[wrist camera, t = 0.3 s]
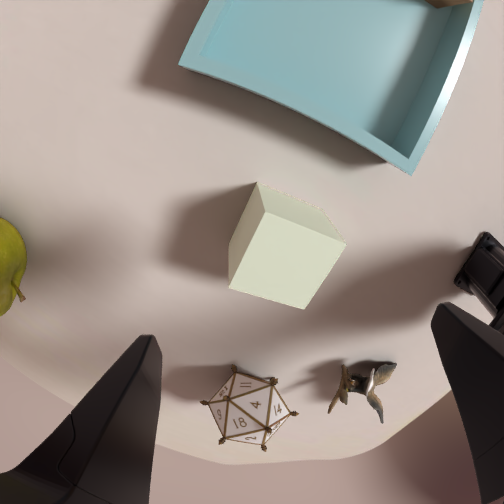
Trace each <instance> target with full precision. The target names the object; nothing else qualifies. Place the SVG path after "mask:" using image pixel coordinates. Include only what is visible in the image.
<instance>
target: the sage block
mask: <svg viewBox="0 0 504 504" xmlns="http://www.w3.org/2000/svg"><path fill="white" fill-rule="evenodd" d="M346 245H347V244H346V242H345V241H344V239H343V238H342V236H341V235H340V233H339V232H338V230H337V229H336V228H335V226H334V225H333V223H332V222H331V220H330V219H329V218H328V216H327V215H326V213H325V212H324V211H323V209H321V208H318V207H316V206H314V205H311V204H309V203H307V202H305V201H302V200H300V199H297V198H295V197H293V196H290V195H288V194H286V193H283V192H281V191H278V190H276V189H273V188H271V187H268V186H266V185H263V184H261V183H258V182H257V183H256V185H255V187H254V190H253V192H252V194H251V196H250V198H249V200H248V203H247V205H246V207H245V209H244V211H243V214H242V216H241V218H240V220H239V222H238V225H237V227H236V229H235V231H234V234H233V236H232V238H231V240H230V242H229V245H228V288H231V289H234V290H237V291H241V292H244V293H247V294H251V295H254V296H258V297H261V298H264V299H268V300H271V301H275V302H278V303H282V304H286V305H289V306H293V307H296V308H300V309H305V308H306V306H307V305H308V303H309V302H310V300H311V299H312V297H313V296H314V294H315V293H316V291H317V290H318V288H319V287H320V285H321V284H322V282H323V281H324V279H325V278H326V276H327V275H328V273H329V272H330V270H331V269H332V267H333V266H334V264H335V262H336V261H337V259H338V258H339V256H340V255H341V253H342V251H343V250H344V248H345V247H346Z"/></svg>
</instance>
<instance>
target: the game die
mask: <svg viewBox="0 0 504 504" xmlns="http://www.w3.org/2000/svg"><path fill="white" fill-rule="evenodd" d="M231 369H232V371H233V372H234V374H233V375H232V376H231V377H230V378H229V380H228V381H227V382H226V383H225V384H224V385H223V386H222V388H221V389H220V390H219V391H218V392H217V393H216V394H215V395H214V396H213V398H212V399H211V400H210V401H209V402H207V401H204V400H203V401H200V403H201V404H203V405H208V406H209V408H210V410H211V412H212V415H213V417H214V419H215V421H216V423H217V425H218V428H219V430H220V432H221V434H222V436H223V438H220V440H219V445H220V444H224V442H225V440H226V439H227V440H233V441H238V442H244V443H251V444H257V445H261V448H262V450H263V451H265V452H266V449H267V447H266V446H265V445H264V444H265V443H266V442H267V441H268V440H269V438H270V437H271V436H272V435H273V434H274V433H275V432H276V431H277V430H278V428H279V427H280V426H281V425H282V424H283V423H284V422H285V420H286V419H287V418H288V417H289V416H290V415H292V416H297V415H299V413H297V412H296V411H295V412H294V411H293V412H290V410H289V409H288V407H287V406H286V404H285V402H284V401H283V399H282V398H281V396H280V394H279V393H278V391H277V390H276V388H275V386H274V385H276V383H278V381H277V380H278V378H277V379H275V377H274V378H271V379H270V382H269V381H266V380H262V379H259V378H255V377H252V376H248V375H245V374H242V373H239V372H237V368H236V366H234V365H233V364H232V368H231Z"/></svg>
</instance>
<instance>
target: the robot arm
mask: <svg viewBox="0 0 504 504" xmlns="http://www.w3.org/2000/svg"><path fill="white" fill-rule="evenodd" d="M454 283H455V284H456V286H458V287H460V288H462V289H464V290H466V291H467V292H469V293H471V294H473V295H475V296H476V297H477V298H478V299H479V301H480V302H481V303H482V304H483V305H484V307H485V308H486V309H487V310H488V311H489V313H490V314H491V315H492V316H493V318H494V319H493V320H492V322H491V323H490V324H489V325H487V324H485V323H484V322H482V321H480V320H479V319H477V318H476V317H474V316H472V315H471V314H469V313H467V312H466V311H464V310H462V309H461V308H459V307H457V306H456V305H454V304H452V303H450V302H444V303H440V304H439V305H438V306H437V308H436V311H435V313H434V316H433V318H432V321H431V329H432V332H433V335H434V338H435V342H436V345H437V348H438V351H439V355H440V358H441V361H442V365H443V367H444V370H445V373H446V375H447V378H448V381H449V383H450V386H451V389H452V391H453V394H454V397H455V400H456V403H457V406H458V409H459V412H460V415H461V418H462V421H463V425H464V428H465V431H466V435H467V439H468V442H469V446H470V450H471V454H472V458H473V463H474V467H475V472H476V476H477V481H478V486H479V492H480V498H481V503H482V504H489V503H491V502H493V501H495V500H497V499H499V498H501V497H503V496H504V247H503V246H502V245H501V244H500V243H499V242H498V241H497V240H496V239H495V238H494V237H493V236H492V235H491V234H490V233H489V232H486V233H485V234H484V236H483V237H482V239H481V241H480V242H479V244H478V245H477V247H476V249H475V250H474V252H473V253H472V255H471V256H470V258H469V259H468V261H467V262H466V264H465V265H464V267H463V268H462V270H461V271H460V273H459V274H458V276H457V277H456V278H455V280H454ZM161 376H162V353H161V350H160V348H159V345H158V343H157V340H156V338H155V336H154V335H140V336H139V337H138V338H137V339H136V340H135V341H134V342H133V343H132V344H131V345H130V347H129V348H128V349H127V350H126V351H125V352H124V353H123V354H122V355H121V356H120V358H119V359H118V360H117V361H116V362H115V363H114V364H113V365H112V366H111V367H110V369H109V370H108V371H107V372H106V373H105V374H104V375H103V376H102V377H101V379H100V380H99V381H98V382H97V383H96V384H95V385H94V386H93V388H92V389H91V390H90V391H89V392H88V393H87V394H86V395H85V397H84V398H83V399H82V400H81V401H80V402H79V403H78V404H77V406H76V407H75V408H74V409H73V410H72V411H71V414H69V415H68V416H67V417H66V418H65V419H64V420H63V422H62V423H61V424H60V425H59V426H58V427H57V428H56V429H55V430H54V432H53V433H52V434H51V435H50V436H49V437H48V438H46V439H45V440H44V441H43V442H42V443H41V444H40V445H39V446H38V447H37V448H36V449H35V450H34V451H33V452H32V453H31V454H30V455H29V456H28V457H26V458H25V459H24V460H23V461H22V462H21V463H20V464H19V465H18V466H16V467H15V468H14V469H12V470H10V471H7V472H4V473H1V474H0V504H149V493H150V482H151V472H152V462H153V454H154V446H155V438H156V431H157V424H158V417H159V410H160V401H161ZM503 504H504V502H503Z"/></svg>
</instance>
